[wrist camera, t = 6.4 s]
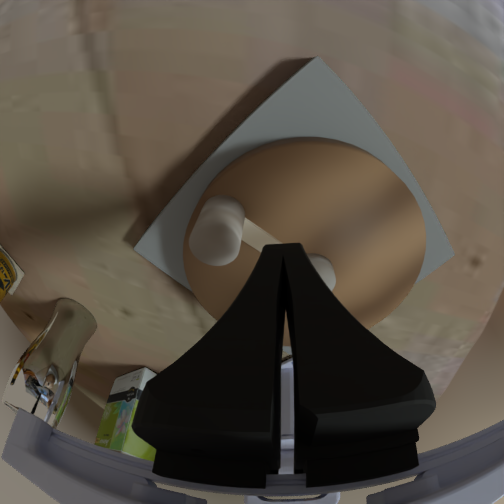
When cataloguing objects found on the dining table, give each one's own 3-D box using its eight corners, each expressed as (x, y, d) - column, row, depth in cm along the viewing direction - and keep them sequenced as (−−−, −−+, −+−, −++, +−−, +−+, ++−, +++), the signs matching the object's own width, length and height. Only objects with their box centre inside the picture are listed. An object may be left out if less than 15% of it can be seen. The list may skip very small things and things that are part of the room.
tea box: (114, 376, 38) (88, 457, 26) (146, 364, 34) (117, 464, 22) (184, 414, 44) (171, 487, 32) (223, 407, 40) (213, 491, 28)
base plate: (292, 342, 28) (292, 355, 27) (141, 236, 22) (133, 249, 20) (446, 242, 20) (455, 254, 19) (313, 57, 13) (317, 55, 12)
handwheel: (448, 241, 18) (478, 285, 14) (308, 349, 26) (311, 394, 22) (292, 79, 13) (303, 81, 9) (153, 265, 21) (130, 314, 17)
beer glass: (52, 314, 30) (4, 406, 17) (56, 285, 26) (-7, 393, 14) (95, 341, 32) (55, 439, 20) (105, 317, 28) (56, 433, 16)
